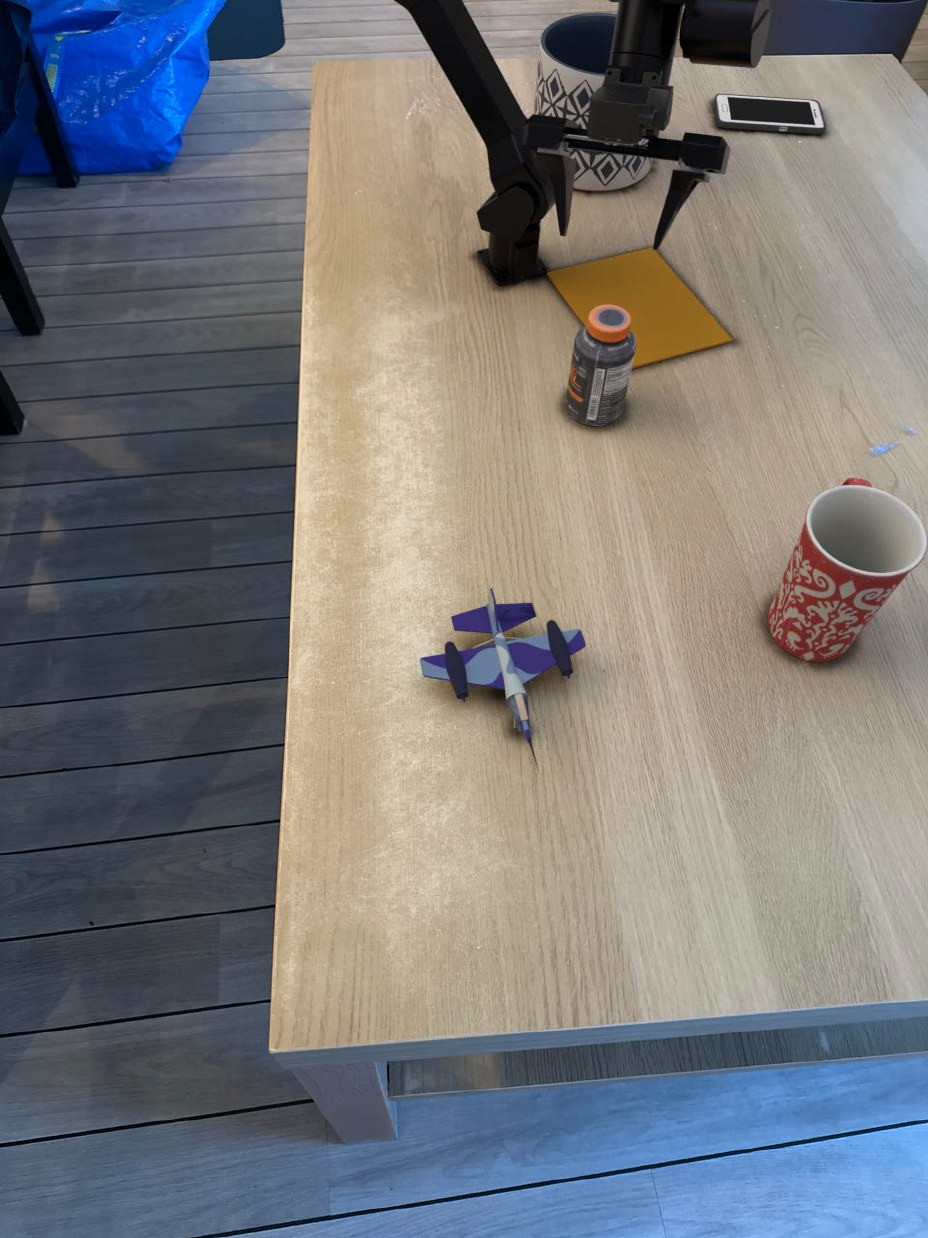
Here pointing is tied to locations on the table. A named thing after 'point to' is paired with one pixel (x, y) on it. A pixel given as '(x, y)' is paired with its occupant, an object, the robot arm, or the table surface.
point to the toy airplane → (504, 656)
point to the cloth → (642, 303)
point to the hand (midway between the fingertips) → (608, 242)
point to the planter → (582, 94)
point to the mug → (844, 568)
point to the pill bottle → (601, 366)
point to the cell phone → (769, 113)
